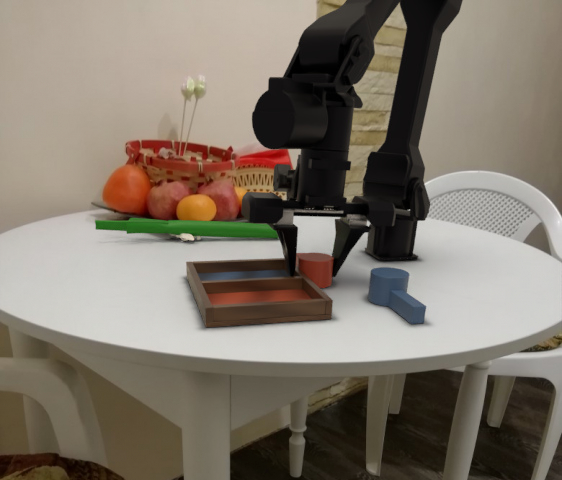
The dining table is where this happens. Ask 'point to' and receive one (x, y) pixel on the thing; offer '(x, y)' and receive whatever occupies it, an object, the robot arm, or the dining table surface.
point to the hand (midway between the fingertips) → (312, 276)
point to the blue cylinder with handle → (395, 293)
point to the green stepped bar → (189, 228)
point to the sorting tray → (255, 293)
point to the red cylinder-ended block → (316, 267)
